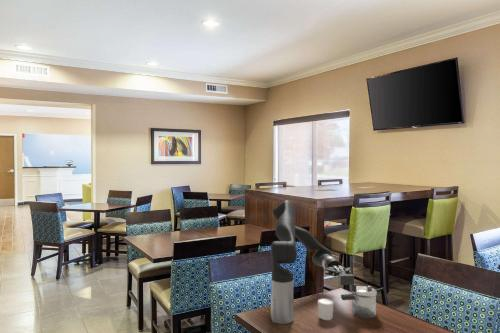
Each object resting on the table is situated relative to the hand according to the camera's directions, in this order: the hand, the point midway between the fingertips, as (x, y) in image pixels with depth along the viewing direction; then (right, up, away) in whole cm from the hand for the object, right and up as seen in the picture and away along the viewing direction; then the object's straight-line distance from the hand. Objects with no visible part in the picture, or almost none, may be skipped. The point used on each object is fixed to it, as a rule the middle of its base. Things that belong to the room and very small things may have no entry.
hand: (344, 276), depth 161 cm
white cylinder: (-9, -16, -4) cm, 19 cm away
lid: (+6, -7, -1) cm, 9 cm away
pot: (+6, -16, 0) cm, 17 cm away
